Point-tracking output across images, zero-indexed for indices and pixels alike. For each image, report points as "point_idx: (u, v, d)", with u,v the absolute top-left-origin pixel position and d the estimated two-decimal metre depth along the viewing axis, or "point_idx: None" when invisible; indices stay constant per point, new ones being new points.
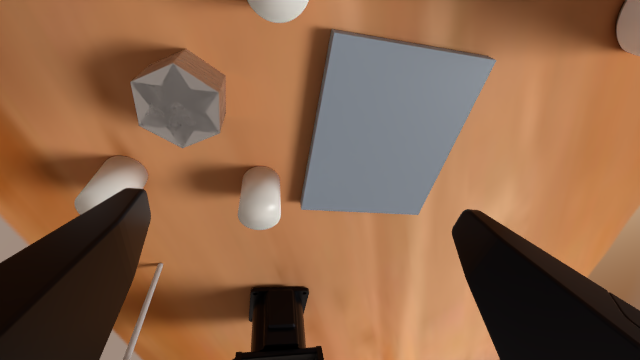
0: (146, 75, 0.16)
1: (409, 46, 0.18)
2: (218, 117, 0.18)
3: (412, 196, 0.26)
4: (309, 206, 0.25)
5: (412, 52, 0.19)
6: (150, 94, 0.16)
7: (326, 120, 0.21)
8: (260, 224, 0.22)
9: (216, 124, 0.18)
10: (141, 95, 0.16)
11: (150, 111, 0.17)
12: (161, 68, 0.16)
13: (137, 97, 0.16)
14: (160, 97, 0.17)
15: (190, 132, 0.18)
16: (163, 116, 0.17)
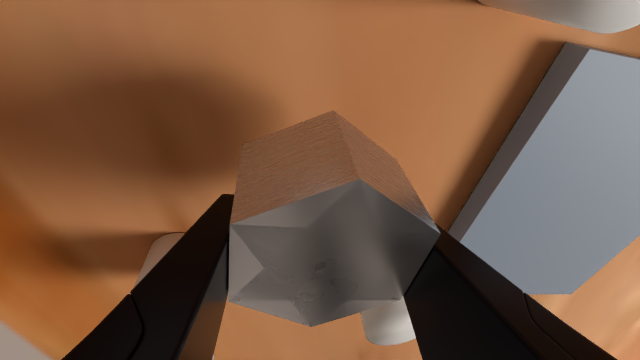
0: (276, 208, 0.06)
1: None
2: (412, 276, 0.07)
3: (576, 274, 0.19)
4: None
5: None
6: (273, 246, 0.06)
7: (510, 184, 0.13)
8: (393, 339, 0.14)
9: (402, 287, 0.08)
10: (251, 248, 0.06)
11: (262, 276, 0.07)
12: (321, 190, 0.06)
13: (239, 253, 0.06)
14: (296, 250, 0.06)
15: (339, 303, 0.08)
16: (290, 283, 0.07)
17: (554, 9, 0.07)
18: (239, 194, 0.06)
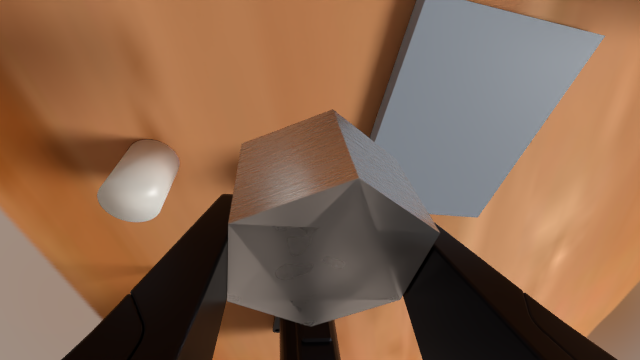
0: (275, 207, 0.06)
1: (511, 13, 0.15)
2: (412, 275, 0.07)
3: (476, 196, 0.23)
4: None
5: (513, 21, 0.15)
6: (272, 245, 0.06)
7: (398, 103, 0.17)
8: None
9: (401, 287, 0.08)
10: (249, 247, 0.06)
11: (261, 276, 0.07)
12: (320, 189, 0.06)
13: (238, 253, 0.06)
14: (295, 250, 0.06)
15: (338, 303, 0.08)
16: (289, 283, 0.07)
17: None
18: (238, 193, 0.06)
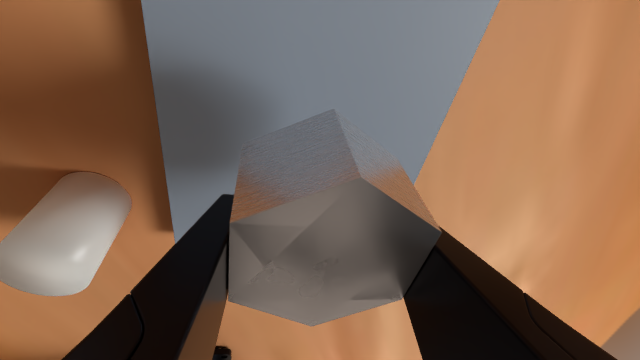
0: (276, 206, 0.06)
1: None
2: (413, 275, 0.07)
3: None
4: None
5: None
6: (273, 245, 0.06)
7: (170, 80, 0.10)
8: (54, 287, 0.11)
9: (403, 286, 0.08)
10: (251, 247, 0.06)
11: (262, 275, 0.07)
12: (321, 188, 0.06)
13: (239, 253, 0.06)
14: (297, 249, 0.06)
15: (339, 302, 0.08)
16: (290, 282, 0.07)
17: None
18: (239, 193, 0.06)
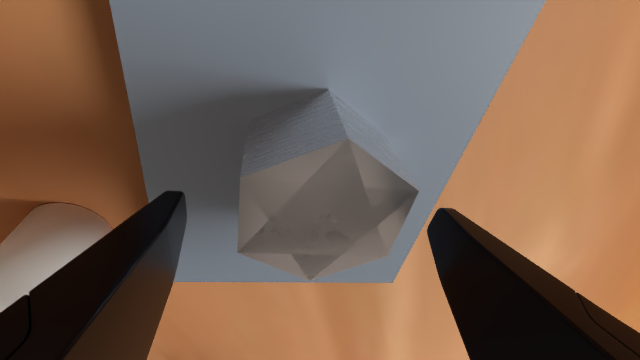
0: (279, 164, 0.07)
1: None
2: (397, 232, 0.09)
3: None
4: (179, 276, 0.13)
5: None
6: (276, 199, 0.07)
7: (151, 104, 0.09)
8: None
9: (388, 243, 0.09)
10: (258, 201, 0.07)
11: (267, 228, 0.08)
12: (316, 148, 0.07)
13: (247, 206, 0.07)
14: (296, 204, 0.07)
15: (333, 257, 0.09)
16: (291, 236, 0.08)
17: None
18: (247, 156, 0.07)
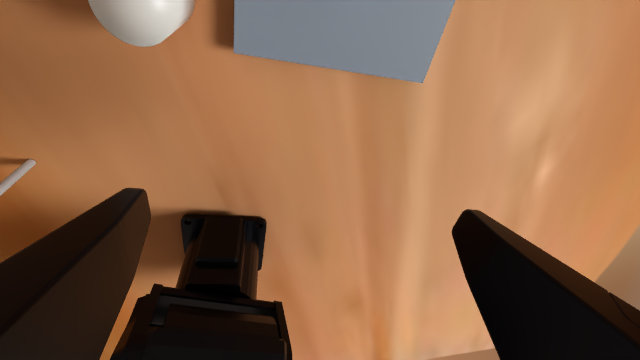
0: None
1: None
2: None
3: (414, 41, 0.16)
4: (247, 47, 0.16)
5: None
6: None
7: None
8: (138, 31, 0.12)
9: None
10: None
11: None
12: None
13: None
14: None
15: None
16: None
17: None
18: None
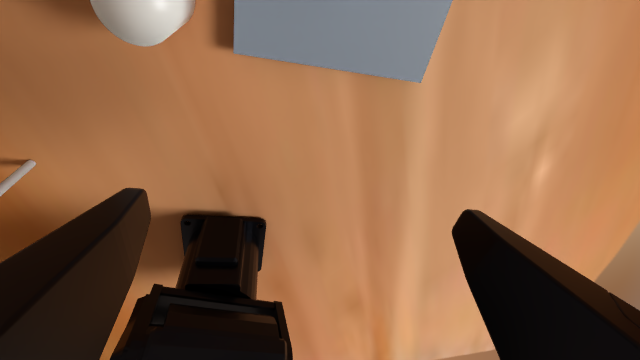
0: None
1: None
2: None
3: (412, 41, 0.17)
4: (247, 48, 0.16)
5: None
6: None
7: None
8: (140, 31, 0.12)
9: None
10: None
11: None
12: None
13: None
14: None
15: None
16: None
17: None
18: None
